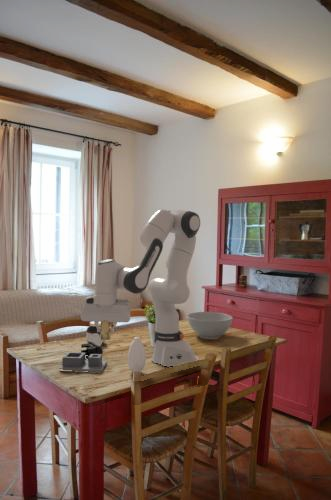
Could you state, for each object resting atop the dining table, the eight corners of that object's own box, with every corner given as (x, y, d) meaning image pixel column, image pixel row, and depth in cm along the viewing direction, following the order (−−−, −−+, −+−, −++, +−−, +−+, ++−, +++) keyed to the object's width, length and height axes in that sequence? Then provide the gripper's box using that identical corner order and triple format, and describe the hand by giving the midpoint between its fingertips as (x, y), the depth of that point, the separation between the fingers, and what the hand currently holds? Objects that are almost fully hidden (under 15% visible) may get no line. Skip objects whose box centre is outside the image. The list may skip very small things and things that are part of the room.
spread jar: (99, 340, 217) (99, 319, 216) (111, 344, 209) (111, 323, 208) (80, 344, 208) (81, 323, 208) (92, 349, 200) (93, 326, 200)
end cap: (102, 359, 184) (103, 345, 184) (88, 362, 180) (89, 347, 180) (94, 354, 193) (94, 340, 192) (80, 356, 189) (81, 342, 189)
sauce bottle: (145, 369, 171) (146, 329, 171) (145, 376, 164) (146, 334, 163) (127, 369, 171) (128, 329, 170) (126, 376, 163) (127, 333, 163)
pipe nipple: (111, 337, 162) (111, 318, 162) (109, 340, 158) (109, 320, 158) (101, 337, 163) (102, 318, 162) (99, 339, 159) (99, 320, 158)
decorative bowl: (179, 333, 237) (179, 313, 236) (216, 329, 248) (216, 310, 248) (201, 344, 212) (201, 322, 212) (241, 340, 224) (242, 319, 223)
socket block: (106, 363, 178) (107, 352, 178) (101, 373, 166) (101, 360, 166) (68, 362, 179) (68, 350, 179) (59, 371, 167) (59, 358, 167)
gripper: (132, 298, 163) (131, 331, 163) (83, 297, 164) (83, 329, 164) (130, 300, 156) (129, 334, 157) (79, 299, 157) (79, 333, 158)
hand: (105, 332), depth 160 cm, fingers closed on pipe nipple, 4 cm apart
